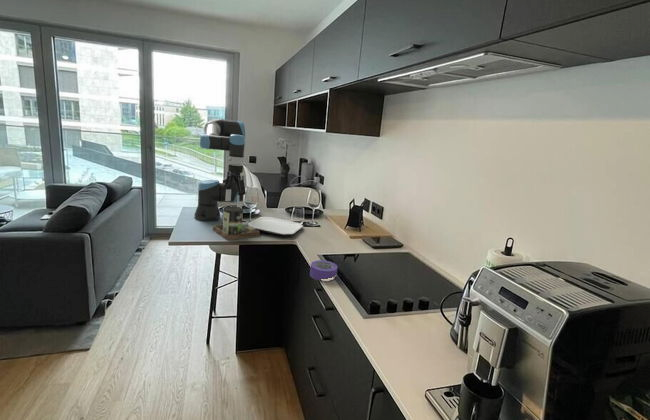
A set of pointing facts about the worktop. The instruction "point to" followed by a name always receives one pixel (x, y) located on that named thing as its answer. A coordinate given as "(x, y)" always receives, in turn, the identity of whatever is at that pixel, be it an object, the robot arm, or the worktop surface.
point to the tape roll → (322, 270)
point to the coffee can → (232, 220)
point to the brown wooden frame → (235, 236)
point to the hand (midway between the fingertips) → (233, 203)
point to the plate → (275, 226)
